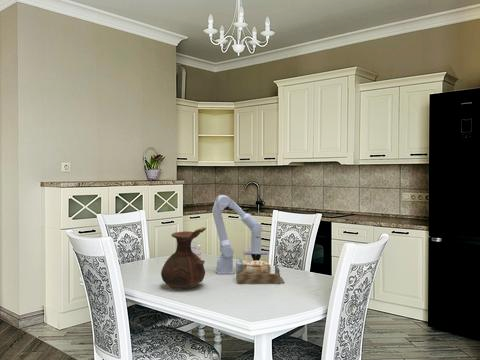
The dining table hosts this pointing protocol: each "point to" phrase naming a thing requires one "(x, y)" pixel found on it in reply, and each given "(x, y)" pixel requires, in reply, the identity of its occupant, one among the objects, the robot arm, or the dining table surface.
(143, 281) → the dining table surface
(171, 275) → the jug
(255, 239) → the robot arm
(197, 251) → the ink box
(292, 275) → the dining table surface
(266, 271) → the trinket box
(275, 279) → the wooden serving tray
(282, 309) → the dining table surface
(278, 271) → the bookend
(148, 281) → the dining table surface
